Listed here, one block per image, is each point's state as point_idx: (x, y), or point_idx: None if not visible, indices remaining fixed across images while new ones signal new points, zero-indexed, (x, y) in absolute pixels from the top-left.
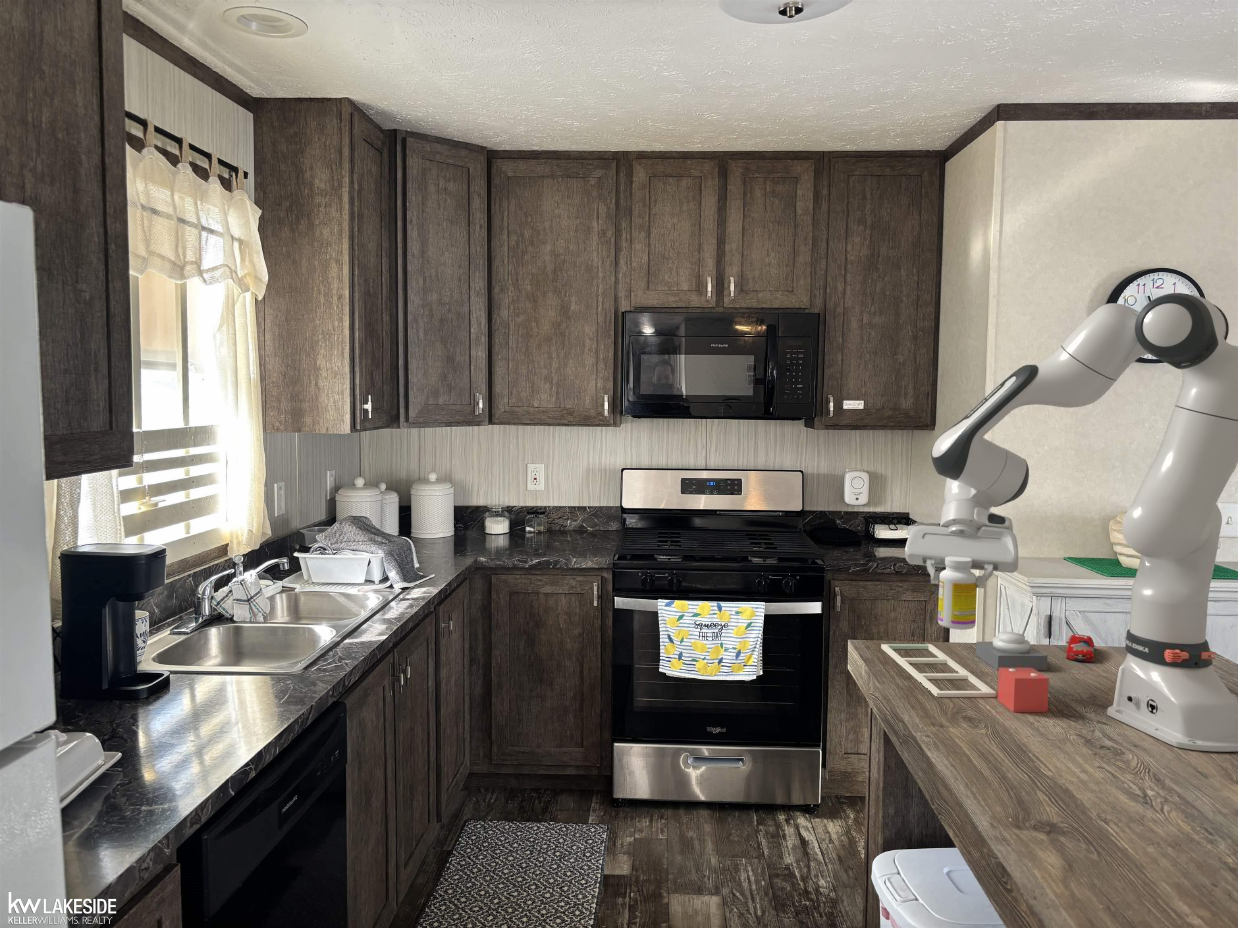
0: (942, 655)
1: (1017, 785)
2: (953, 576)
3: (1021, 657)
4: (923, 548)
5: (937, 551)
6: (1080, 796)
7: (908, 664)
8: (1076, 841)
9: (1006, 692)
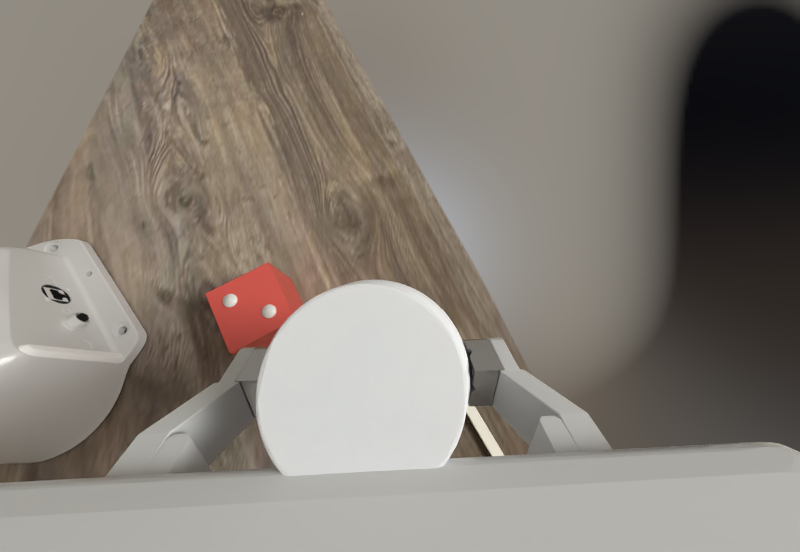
0: None
1: (294, 69)
2: (386, 283)
3: None
4: (750, 532)
5: (584, 510)
6: (238, 71)
7: (484, 439)
8: (254, 3)
9: (293, 295)
